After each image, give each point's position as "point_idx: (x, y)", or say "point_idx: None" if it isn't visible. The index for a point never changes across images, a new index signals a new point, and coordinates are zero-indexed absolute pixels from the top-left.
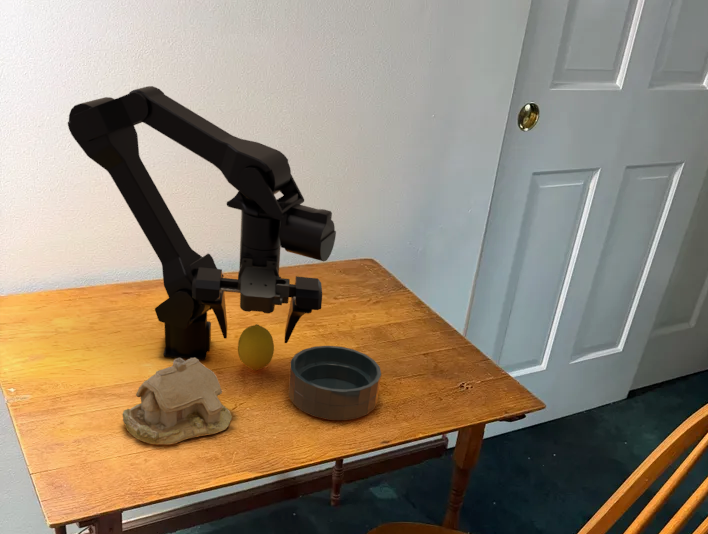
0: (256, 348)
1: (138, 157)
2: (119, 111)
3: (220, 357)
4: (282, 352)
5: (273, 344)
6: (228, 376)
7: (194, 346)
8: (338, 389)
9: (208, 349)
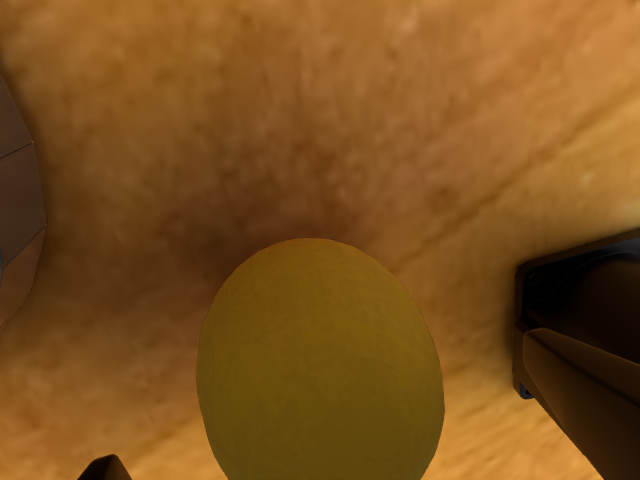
0: (296, 302)
1: None
2: None
3: (457, 315)
4: None
5: (202, 415)
6: (400, 180)
7: (599, 298)
8: None
9: (523, 324)
